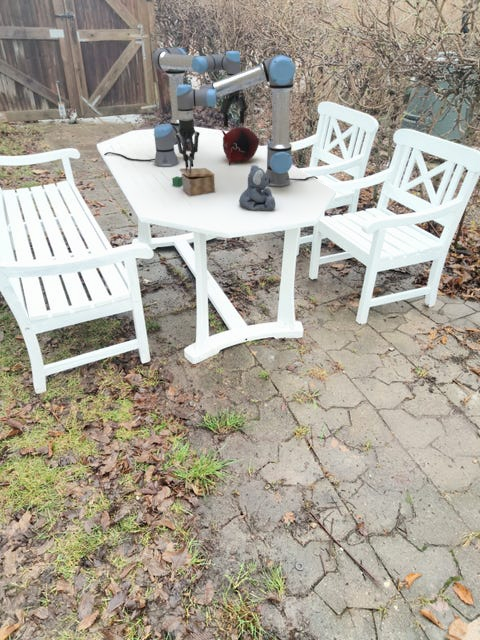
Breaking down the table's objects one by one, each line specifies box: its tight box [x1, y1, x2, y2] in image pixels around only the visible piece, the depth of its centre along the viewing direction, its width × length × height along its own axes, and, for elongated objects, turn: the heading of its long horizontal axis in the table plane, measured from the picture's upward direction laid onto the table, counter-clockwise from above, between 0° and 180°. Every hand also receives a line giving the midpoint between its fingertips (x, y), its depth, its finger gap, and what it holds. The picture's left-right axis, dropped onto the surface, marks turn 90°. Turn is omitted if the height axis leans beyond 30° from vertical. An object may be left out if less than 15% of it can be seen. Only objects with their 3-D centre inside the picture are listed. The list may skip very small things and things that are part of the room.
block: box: [171, 176, 183, 188], centre depth 257 cm, size 4×4×4 cm
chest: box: [181, 173, 216, 197], centre depth 247 cm, size 14×12×9 cm
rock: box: [181, 141, 194, 151], centre depth 322 cm, size 12×9×10 cm
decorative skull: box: [221, 126, 260, 166], centre depth 295 cm, size 21×24×25 cm
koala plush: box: [238, 164, 276, 211], centre depth 224 cm, size 17×18×20 cm
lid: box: [179, 154, 215, 177], centre depth 241 cm, size 15×12×9 cm
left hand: (234, 125), depth 259 cm, fingers open, 13 cm apart
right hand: (189, 166), depth 240 cm, fingers closed on lid, 2 cm apart
